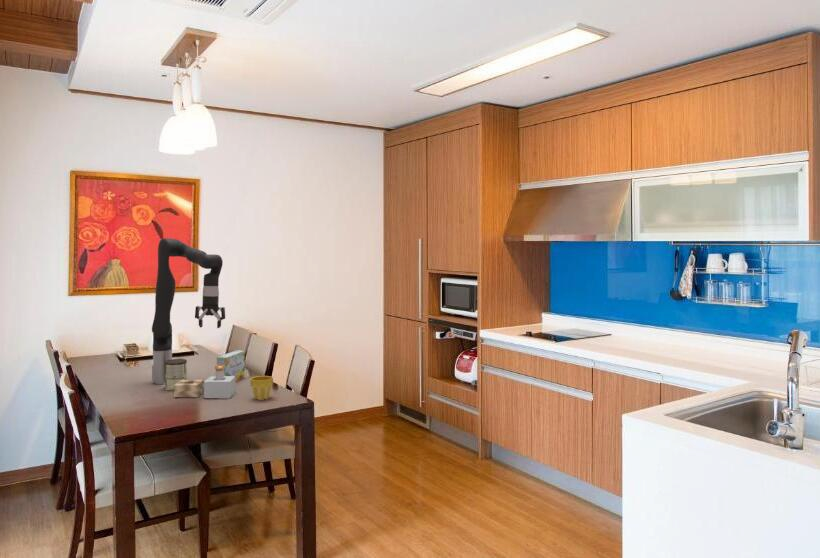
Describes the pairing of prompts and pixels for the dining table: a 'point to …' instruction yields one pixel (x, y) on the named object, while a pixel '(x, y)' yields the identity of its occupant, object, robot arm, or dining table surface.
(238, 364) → the snack box
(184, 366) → the coffee can
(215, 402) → the dining table surface
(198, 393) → the mount
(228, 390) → the socket
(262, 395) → the plant pot
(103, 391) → the dining table surface
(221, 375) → the pin
